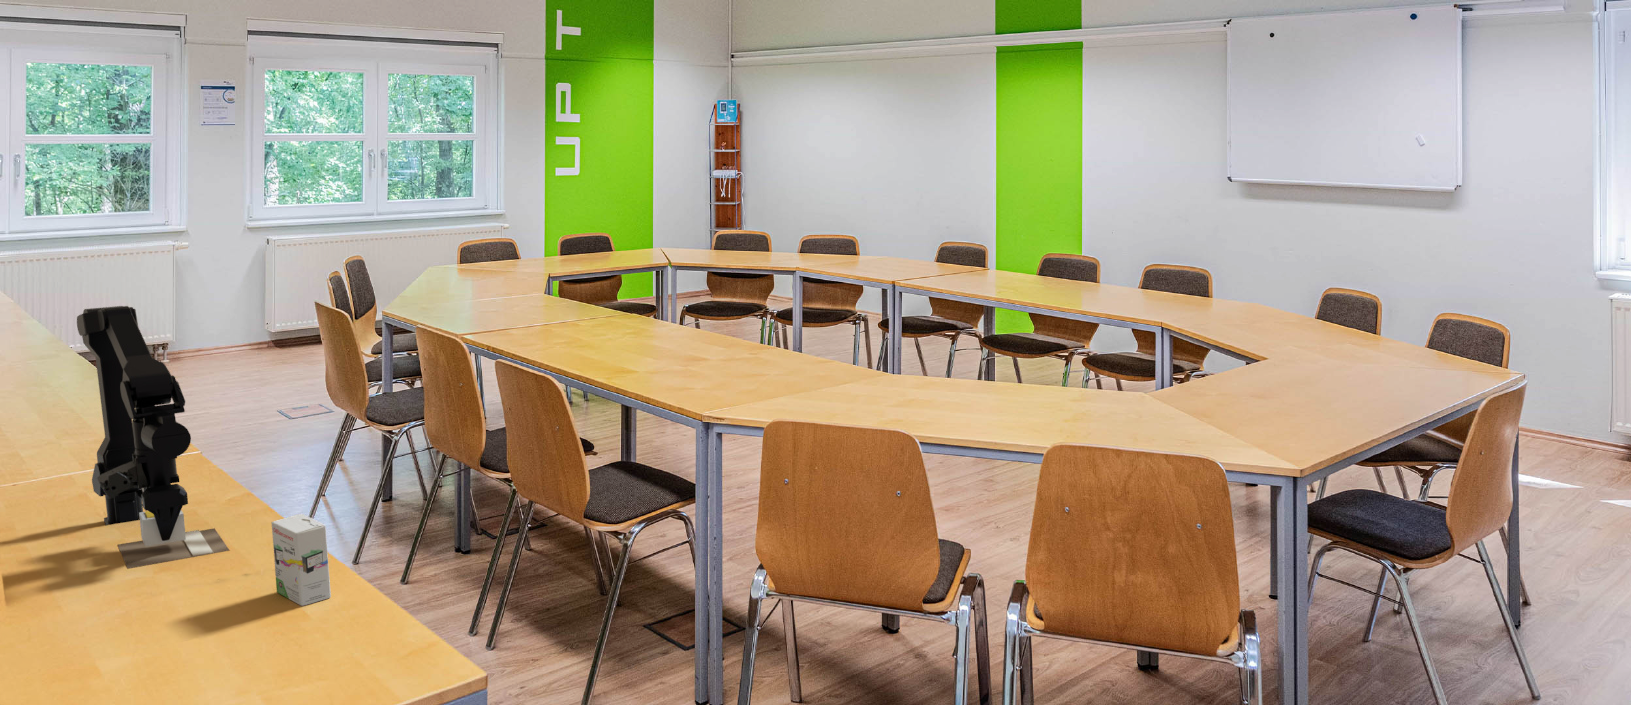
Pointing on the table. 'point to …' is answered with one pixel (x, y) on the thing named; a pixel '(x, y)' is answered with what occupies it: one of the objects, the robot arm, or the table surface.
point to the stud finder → (152, 533)
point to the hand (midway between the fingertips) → (163, 536)
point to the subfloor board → (173, 549)
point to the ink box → (301, 559)
